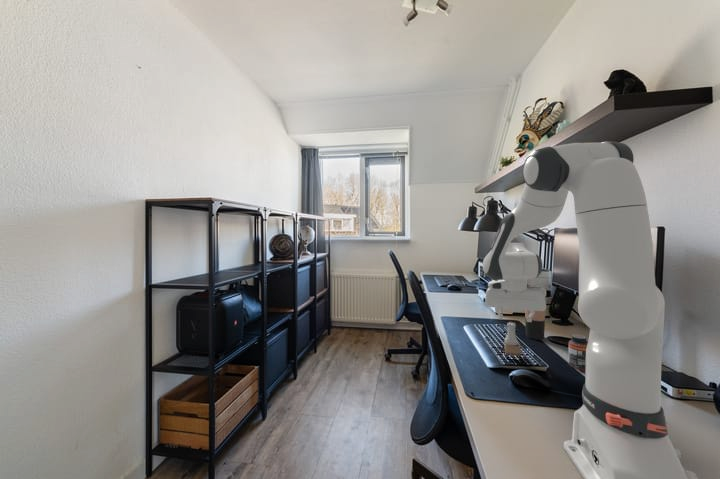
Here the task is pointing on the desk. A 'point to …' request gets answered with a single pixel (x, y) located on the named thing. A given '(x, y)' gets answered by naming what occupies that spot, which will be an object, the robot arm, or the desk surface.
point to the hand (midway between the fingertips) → (514, 320)
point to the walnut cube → (512, 349)
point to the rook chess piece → (511, 335)
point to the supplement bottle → (577, 352)
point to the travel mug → (535, 325)
